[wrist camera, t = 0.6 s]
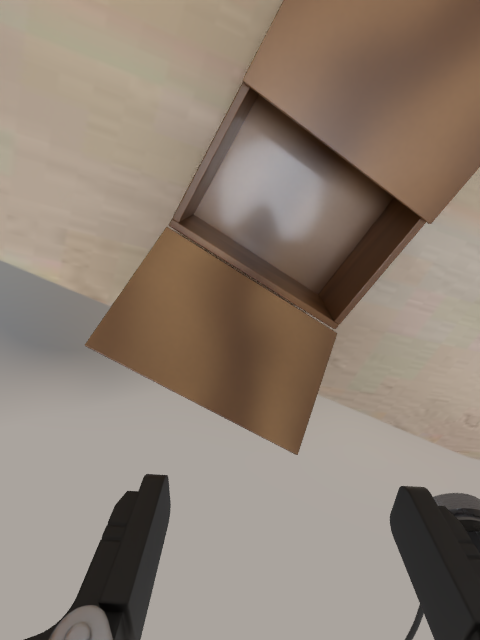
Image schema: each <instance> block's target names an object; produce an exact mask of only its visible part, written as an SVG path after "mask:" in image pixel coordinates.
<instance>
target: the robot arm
mask: <svg viewBox="0 0 480 640" xmlns="http://www.w3.org/2000/svg"><path fill="white" fill-rule="evenodd" d="M169 517H170V493H169V481H168V476H167V475H153V474H146V475H145V476H144V478H143V481H142V483H141V486H140V489H139V492H137V491H127V492H126V493H125V494H124V496H123V497H122V498H121V499H120V500H119V502H118V503H117V504H116V505H115V507H114V509H113V512H112V514H111V516H110V519H109V521H108V525H107V526H106V528H105V531H104V533H103V536H102V540H100V543H99V545H98V547H97V550H96V552H95V555H94V557H93V559H92V562H91V564H90V567H89V569H88V571H87V574H86V576H85V579H84V581H83V583H82V586H81V588H80V590H79V593H78V595H77V597H76V599H75V601H74V603H73V605H72V606H71V608H70V609H69V611H68V612H67V613H66V614H65V615H64V617H63V618H62V619H61V620H60V621H59V622H57V624H56V625H54V626H52V627H51V628H50V629H48V630H46V631H45V632H43V633H41V634H38V635H36V636H33V637H30V638H27V639H25V640H140V639H141V635H142V631H143V626H144V622H145V618H146V614H147V610H148V606H149V602H150V597H151V593H152V589H153V585H154V581H155V577H156V572H157V569H158V564H159V560H160V556H161V552H162V548H163V544H164V539H165V535H166V531H167V527H168V523H169ZM390 526H391V531H392V534H393V537H394V540H395V542H396V544H397V547H398V549H399V552H400V554H401V557H402V559H403V562H404V564H405V567H406V569H407V572H408V574H409V577H410V579H411V582H412V584H413V587H414V589H415V592H416V594H417V597H418V599H419V602H420V605H419V608H418V611H417V614H416V617H415V620H414V622H413V625H412V627H411V629H410V631H409V633H408V635H407V636H406V638H405V640H412V639H413V638H414V636H415V634H416V632H417V630H418V627H419V625H420V623H421V620H422V617H423V615H424V614H425V617H426V619H427V622H428V624H429V627H430V629H431V632H432V634H433V637H434V639H435V640H480V517H477V516H473V515H465V514H462V515H453V514H452V513H451V512H450V511H449V510H448V509H447V508H446V507H445V506H437V504H436V502H435V500H434V499H433V497H432V495H431V494H430V492H429V491H428V490H427V489H426V488H424V487H408V486H401V487H400V488H399V491H398V493H397V496H396V499H395V503H394V505H393V508H392V511H391V514H390Z"/></svg>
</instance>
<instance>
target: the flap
mask: <svg viewBox="0 0 480 640" xmlns="http://www.w3.org/2000/svg"><path fill="white" fill-rule="evenodd" d="M336 335H337V333H336V332H334V331H333V330H331V329H329V328H328V327H326V326H325V325H323V324H321V323H320V322H318V321H317V320H315V319H313V318H312V317H310V316H309V315H307V314H305V313H304V312H302V311H301V310H299V309H297V308H296V307H294V306H293V305H291V304H289V303H288V302H286V301H285V300H283V299H281V298H280V297H278V296H277V295H275V294H273V293H272V292H270V291H269V290H267V289H265V288H264V287H262V286H261V285H259V284H257V283H256V282H254V281H253V280H251V279H249V278H248V277H246V276H245V275H243V274H241V273H240V272H238V271H237V270H235V269H233V268H232V267H230V266H229V265H227V264H225V263H224V262H222V261H221V260H219V259H217V258H216V257H214V256H213V255H211V254H209V253H208V252H206V251H205V250H203V249H201V248H200V247H198V246H197V245H195V244H193V243H192V242H190V241H189V240H187V239H185V238H184V237H182V236H181V235H179V234H177V233H176V232H174V231H173V230H171V229H169V228H168V227H166V229H165V230H164V232H163V233H162V234H161V236H160V237H159V239H158V240H157V242H156V243H155V245H154V246H153V247H152V249H151V250H150V252H149V253H148V255H147V256H146V257H145V259H144V260H143V262H142V263H141V265H140V266H139V268H138V269H137V270H136V272H135V273H134V275H133V276H132V278H131V279H130V280H129V282H128V283H127V285H126V286H125V288H124V289H123V291H122V292H121V293H120V295H119V296H118V298H117V299H116V301H115V302H114V303H113V305H112V306H111V308H110V309H109V311H108V312H107V314H106V315H105V316H104V318H103V319H102V321H101V322H100V324H99V325H98V327H97V328H96V329H95V331H94V332H93V334H92V335H91V337H90V338H89V339H88V341H87V342H86V344H85V346H86V347H88V348H90V349H92V350H94V351H96V352H98V353H99V354H101V355H103V356H105V357H107V358H109V359H111V360H113V361H115V362H117V363H119V364H121V365H123V366H125V367H127V368H129V369H131V370H132V371H134V372H136V373H138V374H140V375H142V376H144V377H146V378H148V379H150V380H152V381H154V382H156V383H158V384H160V385H162V386H163V387H165V388H167V389H169V390H171V391H173V392H175V393H177V394H179V395H181V396H183V397H185V398H187V399H189V400H191V401H193V402H195V403H197V404H198V405H200V406H202V407H204V408H206V409H208V410H210V411H212V412H214V413H216V414H218V415H220V416H222V417H224V418H226V419H227V420H229V421H232V422H233V423H235V424H237V425H239V426H241V427H243V428H245V429H247V430H249V431H251V432H253V433H255V434H257V435H259V436H261V437H262V438H264V439H266V440H268V441H270V442H272V443H274V444H276V445H278V446H280V447H282V448H284V449H286V450H288V451H290V452H292V453H294V454H296V455H298V452H299V449H300V446H301V443H302V440H303V437H304V433H305V431H306V427H307V424H308V421H309V418H310V415H311V412H312V409H313V406H314V403H315V400H316V397H317V394H318V391H319V388H320V385H321V382H322V378H323V375H324V372H325V369H326V366H327V363H328V360H329V357H330V354H331V351H332V348H333V345H334V342H335V339H336Z"/></svg>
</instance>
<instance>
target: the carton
mask: <svg viewBox="0 0 480 640" xmlns="http://www.w3.org/2000/svg"><path fill="white" fill-rule="evenodd" d="M479 167H480V0H284V1H283V3H282V5H281V7H280V9H279V10H278V12H277V14H276V16H275V18H274V20H273V22H272V24H271V26H270V28H269V30H268V32H267V34H266V36H265V38H264V40H263V41H262V43H261V45H260V47H259V49H258V51H257V53H256V55H255V57H254V59H253V61H252V63H251V65H250V67H249V69H248V71H247V72H246V74H245V76H244V78H243V83H242V85H241V87H240V88H239V90H238V92H237V94H236V96H235V98H234V100H233V102H232V104H231V106H230V108H229V110H228V112H227V114H226V116H225V117H224V119H223V121H222V123H221V125H220V127H219V129H218V131H217V133H216V135H215V137H214V139H213V141H212V143H211V144H210V146H209V148H208V150H207V152H206V154H205V156H204V158H203V160H202V162H201V164H200V166H199V168H198V170H197V172H196V173H195V175H194V177H193V179H192V181H191V183H190V185H189V187H188V189H187V191H186V193H185V195H184V197H183V199H182V201H181V202H180V204H179V206H178V208H177V210H176V212H175V214H174V216H173V218H172V220H171V222H170V224H169V226H171V227H172V228H174V229H175V230H177V231H178V232H180V233H182V234H183V235H185V236H186V237H188V238H190V239H191V240H193V241H194V242H196V243H198V244H199V245H201V246H202V247H204V248H206V249H207V250H209V251H210V252H212V253H214V254H215V255H217V256H218V257H220V258H222V259H223V260H225V261H226V262H228V263H230V264H231V265H233V266H234V267H236V268H237V269H239V270H241V271H242V272H244V273H245V274H247V275H249V276H250V277H252V278H253V279H255V280H257V281H258V282H260V283H261V284H263V285H265V286H266V287H268V288H269V289H271V290H273V291H274V292H276V293H277V294H279V295H281V296H282V297H284V298H285V299H287V300H289V301H290V302H292V303H293V304H295V305H297V306H298V307H300V308H301V309H303V310H304V311H306V312H308V313H309V314H311V315H312V316H314V317H316V318H317V319H319V320H320V321H322V322H324V323H325V324H327V325H328V326H330V327H332V328H333V329H336V328H337V327H338V325H339V324H340V323H341V322H342V321H343V320H344V318H345V317H346V316H347V315H348V314H349V312H350V311H351V310H352V309H353V308H354V307H355V305H356V304H357V303H358V302H359V301H360V300H361V298H362V297H363V296H364V295H365V294H366V292H367V291H368V290H369V289H370V288H371V287H372V285H373V284H374V283H375V282H376V281H377V279H378V278H379V277H380V276H381V275H382V274H383V272H384V271H385V270H386V269H387V268H388V267H389V265H390V264H391V263H392V262H393V261H394V259H395V258H396V257H397V256H398V255H399V254H400V252H401V251H402V250H403V249H404V248H405V246H406V245H407V244H408V243H409V242H410V241H411V239H412V238H413V237H414V236H415V235H416V234H417V232H418V231H419V230H420V229H421V228H422V226H423V225H424V224H425V223H426V222H427V223H429V224H431V223H432V222H433V221H434V220H435V218H436V217H437V216H438V215H439V214H440V213H441V211H442V210H443V209H444V208H445V207H446V206H447V204H448V203H449V202H450V201H451V200H452V199H453V197H454V196H455V195H456V194H457V193H458V192H459V190H460V189H461V188H462V187H463V186H464V185H465V183H466V182H467V181H468V180H469V179H470V178H471V176H472V175H473V174H474V173H475V172H476V171H477V169H478V168H479Z"/></svg>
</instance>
